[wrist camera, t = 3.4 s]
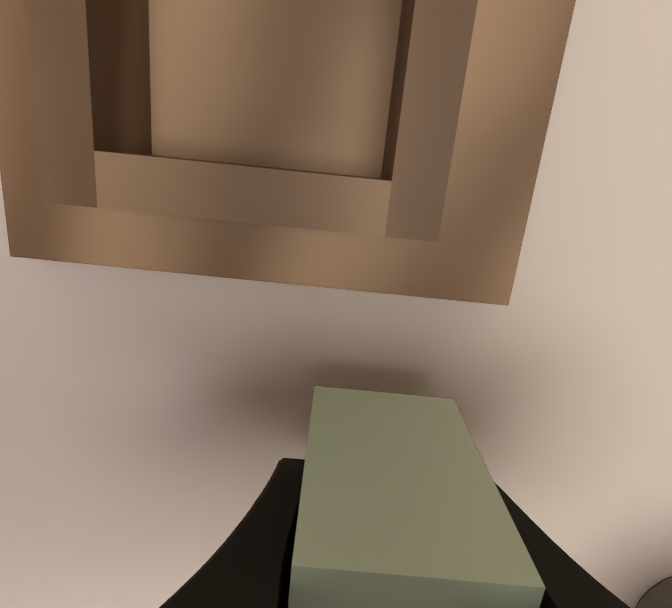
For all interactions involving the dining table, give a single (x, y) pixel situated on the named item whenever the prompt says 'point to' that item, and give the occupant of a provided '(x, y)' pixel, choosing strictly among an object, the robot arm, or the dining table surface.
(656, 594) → the beverage cup
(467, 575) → the block
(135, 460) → the dining table surface
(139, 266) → the well stand
